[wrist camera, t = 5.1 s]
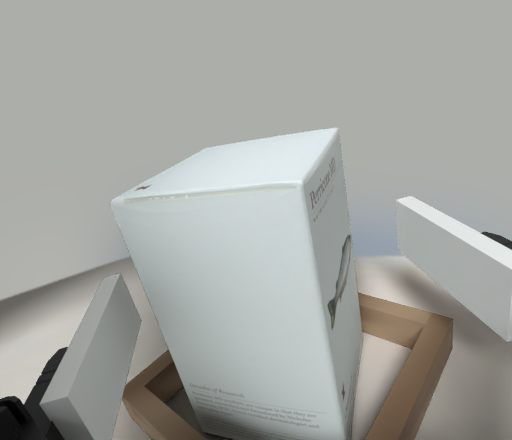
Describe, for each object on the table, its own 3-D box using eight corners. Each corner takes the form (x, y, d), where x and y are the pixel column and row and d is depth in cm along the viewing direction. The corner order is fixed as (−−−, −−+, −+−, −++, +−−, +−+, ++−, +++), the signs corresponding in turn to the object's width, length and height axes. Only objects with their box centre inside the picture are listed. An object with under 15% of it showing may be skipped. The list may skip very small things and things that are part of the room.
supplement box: (352, 475, 14) (301, 181, 9) (198, 434, 17) (97, 199, 12) (367, 340, 20) (343, 122, 15) (252, 328, 23) (200, 144, 18)
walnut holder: (131, 417, 19) (117, 391, 18) (272, 289, 27) (267, 267, 26) (336, 625, 10) (327, 594, 9) (452, 348, 18) (452, 318, 17)
